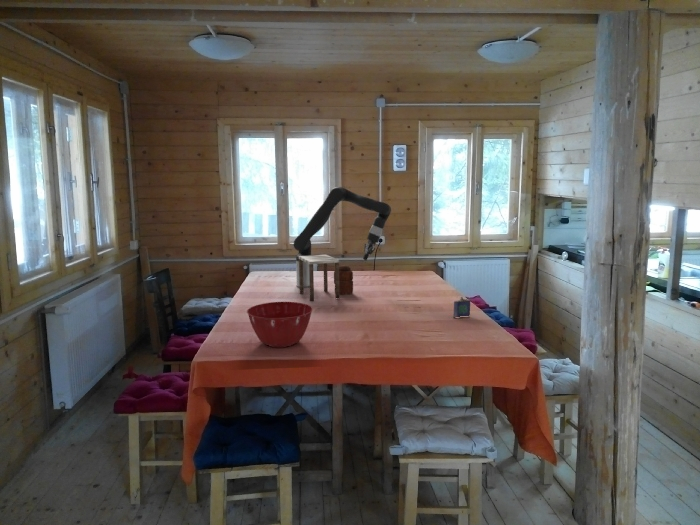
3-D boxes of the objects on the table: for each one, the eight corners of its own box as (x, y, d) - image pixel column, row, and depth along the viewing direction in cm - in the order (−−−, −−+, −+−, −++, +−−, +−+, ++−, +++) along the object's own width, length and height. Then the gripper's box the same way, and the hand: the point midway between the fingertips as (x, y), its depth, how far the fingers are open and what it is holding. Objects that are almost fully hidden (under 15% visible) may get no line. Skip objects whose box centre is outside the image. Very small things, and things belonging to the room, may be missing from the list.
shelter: (299, 293, 344) (298, 256, 341) (327, 290, 351) (326, 254, 347) (310, 301, 322) (309, 261, 318) (340, 298, 328) (339, 259, 324)
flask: (455, 318, 280) (455, 298, 278) (452, 317, 282) (452, 297, 281) (470, 317, 283) (471, 297, 281) (467, 316, 285) (468, 295, 284)
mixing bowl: (313, 352, 229) (312, 316, 227) (244, 354, 227) (243, 318, 224) (312, 333, 257) (312, 300, 254) (251, 334, 255) (250, 302, 252)
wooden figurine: (352, 292, 345) (352, 264, 342) (353, 294, 339) (353, 265, 336) (334, 292, 345) (333, 264, 342) (334, 295, 338) (333, 266, 336)
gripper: (365, 230, 345) (355, 255, 347) (373, 233, 333) (363, 259, 334) (376, 234, 348) (366, 259, 349) (384, 237, 336) (373, 263, 337)
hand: (364, 259), depth 342 cm, fingers closed
